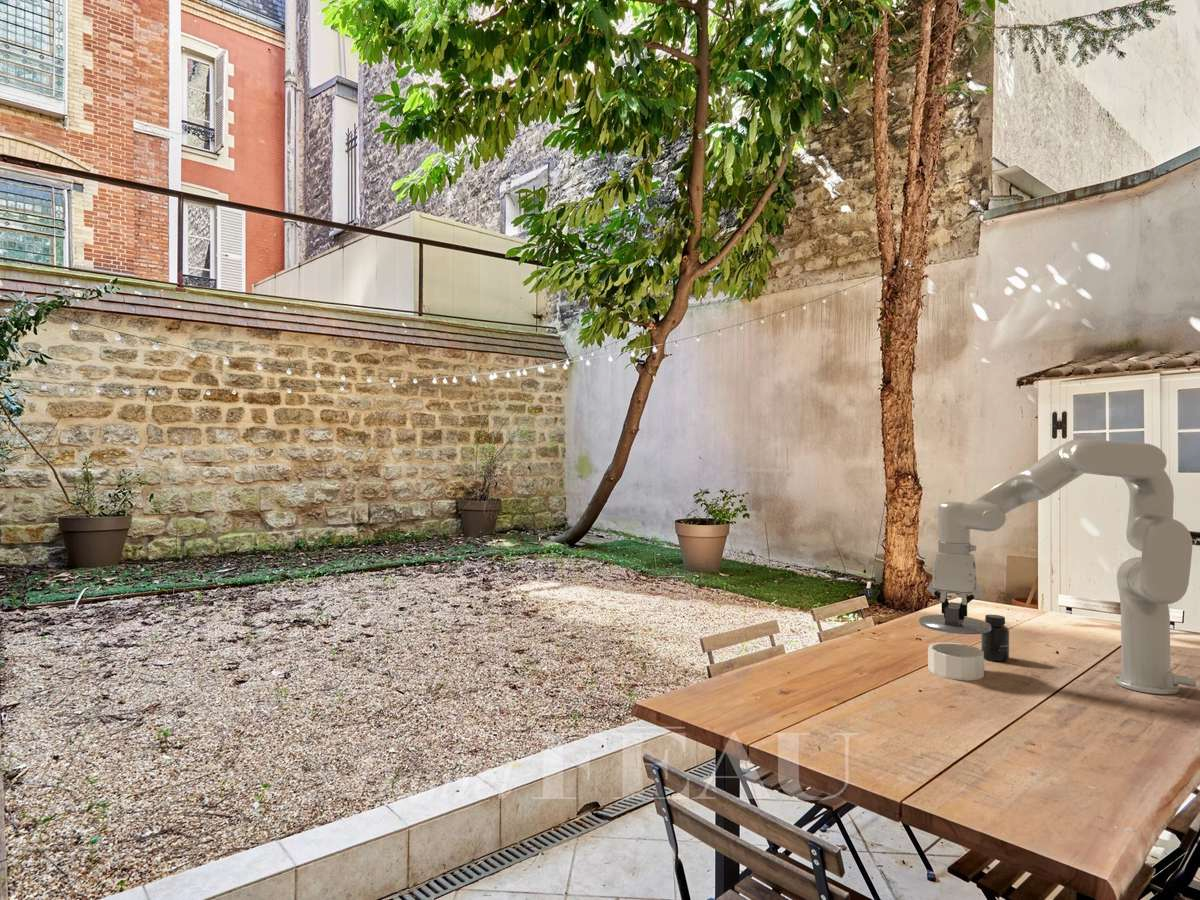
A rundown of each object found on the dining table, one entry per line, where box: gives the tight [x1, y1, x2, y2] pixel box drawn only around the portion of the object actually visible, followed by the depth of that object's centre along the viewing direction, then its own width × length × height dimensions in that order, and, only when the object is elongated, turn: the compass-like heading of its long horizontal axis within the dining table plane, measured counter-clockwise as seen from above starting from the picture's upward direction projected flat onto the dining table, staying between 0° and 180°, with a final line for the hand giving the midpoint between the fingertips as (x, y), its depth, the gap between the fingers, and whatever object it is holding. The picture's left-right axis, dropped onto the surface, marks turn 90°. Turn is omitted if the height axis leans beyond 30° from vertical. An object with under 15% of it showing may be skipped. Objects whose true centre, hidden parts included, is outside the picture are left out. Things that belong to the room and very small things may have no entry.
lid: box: [918, 601, 991, 635], centre depth 182 cm, size 17×17×5 cm
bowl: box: [927, 642, 985, 681], centre depth 182 cm, size 13×13×6 cm
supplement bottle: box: [980, 614, 1010, 663], centre depth 193 cm, size 7×7×12 cm
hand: (954, 617), depth 182 cm, fingers closed on lid, 3 cm apart
